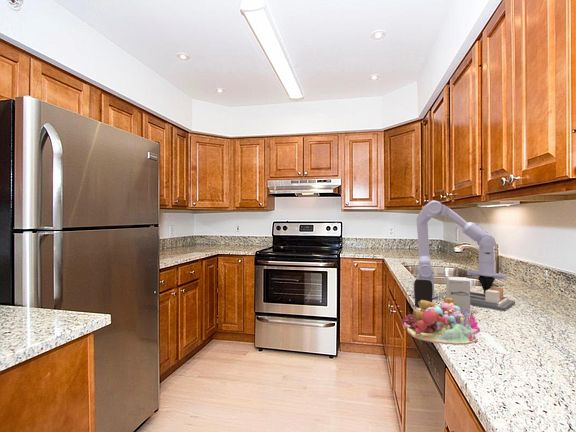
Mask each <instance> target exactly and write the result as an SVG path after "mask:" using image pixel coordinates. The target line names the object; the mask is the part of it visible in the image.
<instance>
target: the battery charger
mask: <svg viewBox="0 0 576 432" xmlns="http://www.w3.org/2000/svg"><path fill="white" fill-rule="evenodd" d="M413 284H414V288H413V295H414V297H413V298H414V307H417V308H420V307H419V305H418V302H419V301H421V300H425V301H429V302H432V303H433V299H434V298H433V284H432V281H431V280H430V279H423V278H417V277H416V279H415V280H414V281H413ZM432 298H433V299H432Z"/></svg>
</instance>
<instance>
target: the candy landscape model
mask: <svg viewBox="0 0 576 432" xmlns="http://www.w3.org/2000/svg"><path fill="white" fill-rule="evenodd" d="M418 305H419V307H418V308H420V309H413V311H412V313H411V314H407V315H405V316H403V318H402V319H401V320H400V322H401V324H402V325H403V326H404V327H405V328H406V331H407V333H408V334H410V335H411V337H413V338H415V339H417V340H420V341H424V342H430V343H433V344H442V345H443V344H444V345H469V344H474V343H477V342H478V337H477V336H476V334H477V333H478V332H480V327H478V321H476V318H475V316H474V313H475V311H474V310H472V312H471V307H470V308H468V312H467V313H466V312H465V310H466V307H465V308H464V310H463V313H461V311H460V308H459V307H458V306H456V305H457V302H453V299H452V298H446V297H445V298H444V302H440V303H438V304H437V303H435V302H433V301H432V302H429V301H425V300H421V301H419V302H418ZM469 311H470V313H469Z"/></svg>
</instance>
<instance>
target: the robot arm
mask: <svg viewBox="0 0 576 432" xmlns="http://www.w3.org/2000/svg"><path fill="white" fill-rule="evenodd" d="M437 215H439V216H443V217H446V218H448V219H449V220H451V221H452V222H453V223H455V224H456V225H458V226H459V227H460V228H461V229H462V233H463V234H465V235H466V236H468V238H470V239H471V240H472V241H474V242H476V243H477V244H476V245H478V270H467V273H466V275H467V276H475V277H478V278H477V279H478V281H479V283H480V284H481V287H482V290H483V294H485V291H486V290H488V289H489V288H491V287H493V286H492V285H493V283H494V281H495V280H496V279H498V280H505V281H506V280H508V274H504V273H498V272H495V248H494V247H495V246H496V245H497V241H496V240H495V237H493V236H492V235H490V234H489V233H488V231H487V230H483V229H482V228H480V227H479V224H478V223H477V222H472V221H469V222H467V221H466V220H465V219H464V218H462V216H460V215H459V214H457V213H456V212H455V211H454V210H452V209H451V208H450V207H449V206H446V205H445V204H443V203H441V202H440V201H438V200H430V201H429V202H428V203H427V204H425V205H424V206H423V207H422V209H421V210H420V212H419V213H418V215H417V217H416V229H417V231H416V232H417V245H418V246H417V247H418V259H419V263H418V264H417V272H418V273H417V275H416V279H417V278H423V279H430V280H431V281H432V284H433V298H432V300H433V299H435V298H437V297H439V295H437V294H435V276H433V275H434V268H433V266H432V263H431V257H430V256H431V255H430V243H429V240H430V239H429V227H428V222H429V221H430V220H431V219H432V218H433V217H435V216H437ZM412 287H413V289H414V283H413V285H412ZM411 298H415V297H414V294H413V295H411Z"/></svg>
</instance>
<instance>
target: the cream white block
mask: <svg viewBox="0 0 576 432" xmlns="http://www.w3.org/2000/svg"><path fill="white" fill-rule="evenodd" d="M485 301H490V302H495V303H498V302H500V291H496V290H489V289H488V290H486V291H485Z"/></svg>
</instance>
